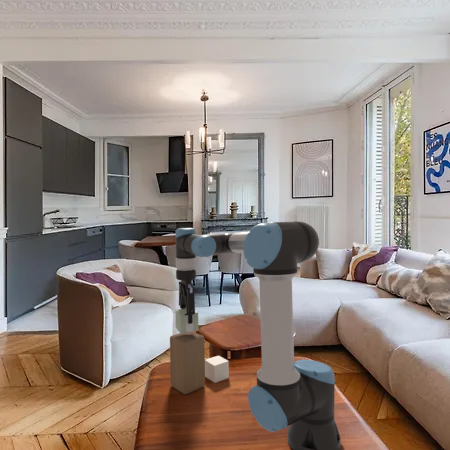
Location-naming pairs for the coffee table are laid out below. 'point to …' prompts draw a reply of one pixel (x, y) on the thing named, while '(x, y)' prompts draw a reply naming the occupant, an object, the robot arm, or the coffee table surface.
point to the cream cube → (216, 369)
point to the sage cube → (182, 320)
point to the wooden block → (187, 362)
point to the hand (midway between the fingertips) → (186, 328)
